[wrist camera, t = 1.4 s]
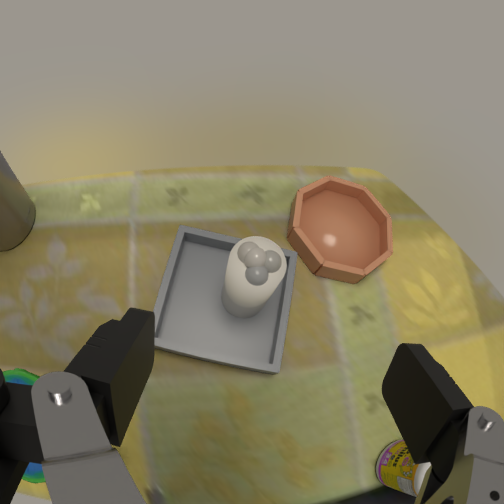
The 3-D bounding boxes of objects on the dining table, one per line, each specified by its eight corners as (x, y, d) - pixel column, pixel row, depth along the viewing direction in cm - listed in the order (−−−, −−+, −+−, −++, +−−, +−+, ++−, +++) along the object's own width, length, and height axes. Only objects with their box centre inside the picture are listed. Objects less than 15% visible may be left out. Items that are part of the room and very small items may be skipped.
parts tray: (149, 346, 33) (144, 342, 30) (181, 236, 39) (179, 224, 36) (273, 374, 34) (279, 372, 31) (291, 262, 40) (297, 252, 37)
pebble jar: (217, 312, 35) (223, 276, 25) (226, 271, 37) (236, 222, 27) (261, 322, 35) (286, 290, 25) (268, 281, 38) (294, 236, 27)
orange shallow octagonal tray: (282, 267, 39) (288, 257, 37) (294, 180, 46) (300, 167, 43) (381, 290, 40) (393, 282, 38) (380, 205, 46) (389, 194, 44)
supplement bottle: (406, 429, 32) (476, 431, 21) (421, 465, 30) (489, 475, 19) (366, 458, 30) (431, 475, 19) (383, 495, 28) (447, 518, 17)
